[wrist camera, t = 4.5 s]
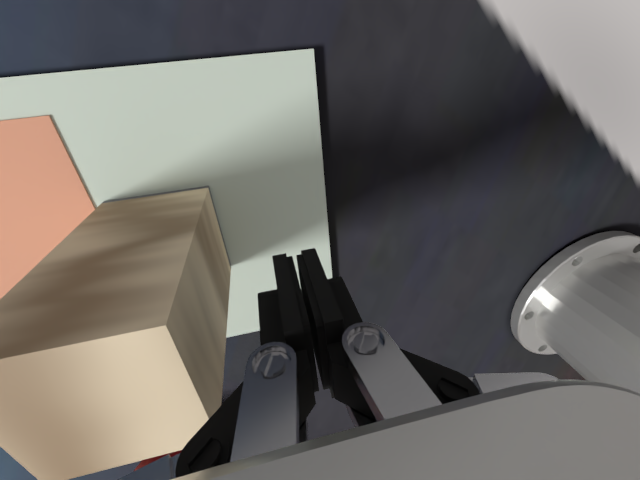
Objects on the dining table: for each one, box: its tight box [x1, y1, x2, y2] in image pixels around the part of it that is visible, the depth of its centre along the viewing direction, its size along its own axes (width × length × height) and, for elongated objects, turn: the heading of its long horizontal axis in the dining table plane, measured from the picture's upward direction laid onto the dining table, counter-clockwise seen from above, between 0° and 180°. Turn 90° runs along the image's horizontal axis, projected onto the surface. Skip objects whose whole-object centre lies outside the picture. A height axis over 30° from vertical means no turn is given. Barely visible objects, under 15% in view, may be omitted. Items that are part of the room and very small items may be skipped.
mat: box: [0, 49, 332, 338], centre depth 16 cm, size 23×16×1 cm
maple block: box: [0, 186, 231, 480], centre depth 12 cm, size 5×5×10 cm
